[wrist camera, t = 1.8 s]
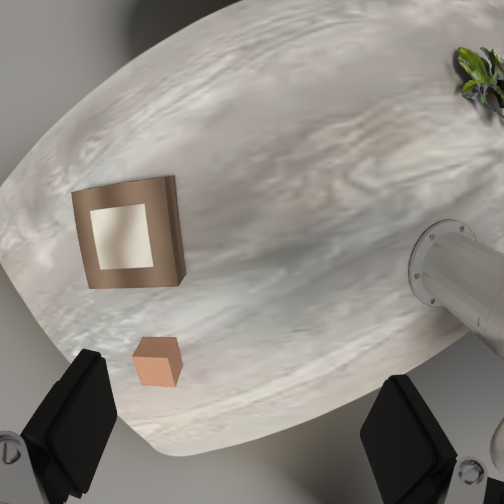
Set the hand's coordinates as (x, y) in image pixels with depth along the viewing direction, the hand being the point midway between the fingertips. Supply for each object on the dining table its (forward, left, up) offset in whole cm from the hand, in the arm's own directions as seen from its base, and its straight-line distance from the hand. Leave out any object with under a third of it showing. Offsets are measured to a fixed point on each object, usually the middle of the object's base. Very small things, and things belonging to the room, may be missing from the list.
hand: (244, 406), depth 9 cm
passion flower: (-7, -38, -28) cm, 48 cm away
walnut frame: (+10, +11, -27) cm, 31 cm away
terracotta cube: (-4, +22, -27) cm, 35 cm away
